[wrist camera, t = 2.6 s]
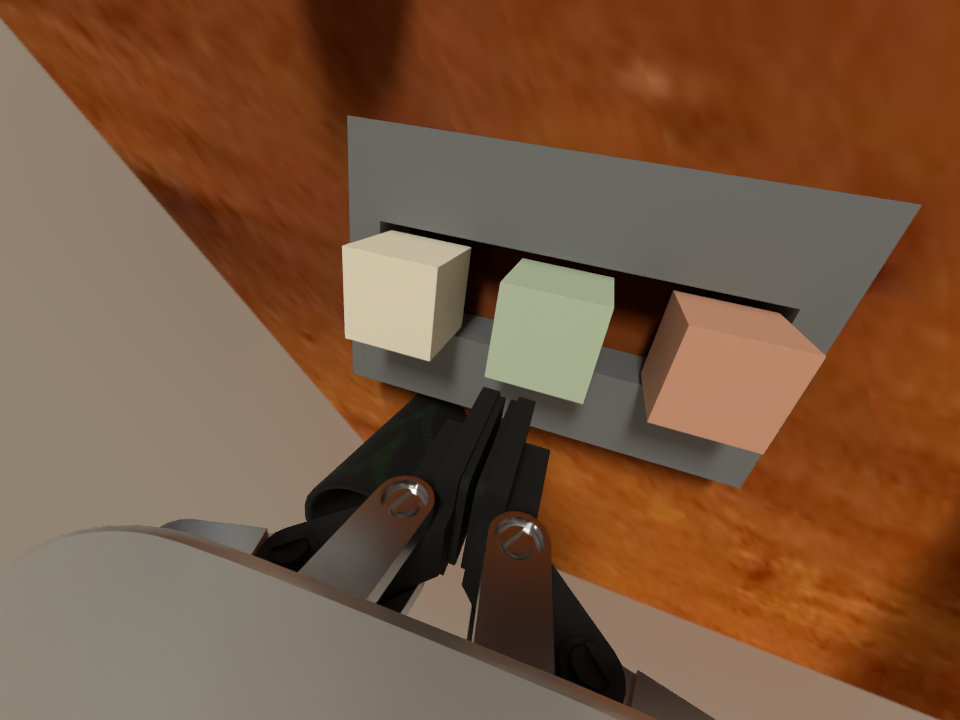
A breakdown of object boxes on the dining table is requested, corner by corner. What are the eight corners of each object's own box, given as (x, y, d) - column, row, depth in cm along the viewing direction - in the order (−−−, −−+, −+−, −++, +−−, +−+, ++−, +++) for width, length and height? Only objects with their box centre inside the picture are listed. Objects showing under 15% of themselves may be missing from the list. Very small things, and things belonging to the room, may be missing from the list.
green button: (614, 277, 21) (614, 307, 17) (588, 359, 23) (582, 404, 19) (522, 258, 22) (500, 281, 18) (507, 338, 24) (484, 376, 20)
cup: (443, 365, 31) (358, 467, 21) (499, 438, 32) (446, 567, 22) (380, 403, 34) (281, 505, 24) (433, 467, 36) (361, 589, 26)
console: (867, 196, 19) (921, 205, 16) (723, 446, 27) (740, 488, 24) (384, 121, 24) (347, 115, 21) (381, 350, 32) (353, 373, 29)
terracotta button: (779, 313, 19) (826, 356, 15) (733, 396, 22) (763, 454, 17) (673, 290, 20) (688, 325, 16) (640, 372, 23) (646, 422, 18)
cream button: (471, 247, 22) (437, 267, 18) (461, 326, 25) (429, 361, 21) (391, 230, 23) (342, 245, 19) (389, 308, 26) (345, 337, 22)
